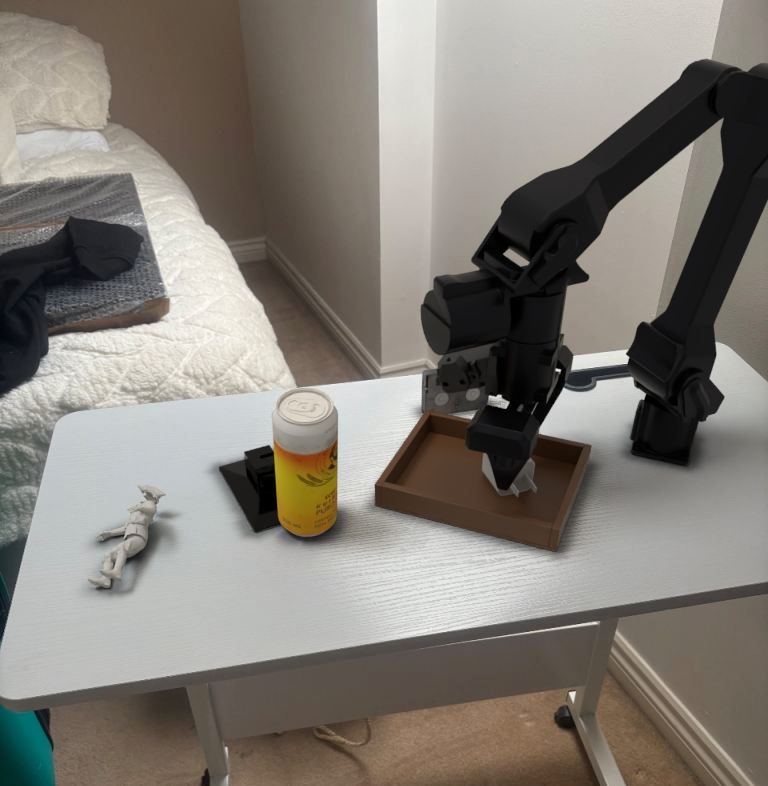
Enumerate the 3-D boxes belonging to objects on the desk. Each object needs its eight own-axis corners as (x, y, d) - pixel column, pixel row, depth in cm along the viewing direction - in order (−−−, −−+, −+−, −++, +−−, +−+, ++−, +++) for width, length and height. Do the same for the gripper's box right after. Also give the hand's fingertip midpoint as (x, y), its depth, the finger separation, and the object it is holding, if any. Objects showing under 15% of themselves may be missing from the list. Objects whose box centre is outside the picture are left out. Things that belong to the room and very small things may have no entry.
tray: (588, 465, 94) (592, 444, 92) (555, 552, 83) (559, 530, 81) (425, 429, 100) (426, 409, 98) (374, 505, 88) (374, 484, 87)
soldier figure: (72, 591, 80) (102, 488, 87) (118, 608, 83) (144, 507, 89) (109, 566, 75) (138, 458, 82) (157, 584, 78) (181, 479, 84)
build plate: (318, 514, 88) (315, 480, 85) (252, 535, 85) (247, 500, 82) (276, 452, 96) (273, 419, 93) (215, 469, 94) (210, 435, 91)
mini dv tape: (483, 401, 104) (486, 359, 101) (487, 407, 103) (491, 365, 99) (421, 411, 103) (422, 368, 99) (424, 417, 102) (426, 374, 98)
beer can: (329, 545, 84) (328, 431, 73) (271, 534, 84) (262, 420, 74) (343, 504, 88) (345, 390, 77) (287, 494, 89) (282, 380, 78)
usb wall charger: (514, 467, 93) (517, 437, 90) (542, 503, 88) (547, 473, 85) (481, 474, 92) (483, 444, 89) (508, 511, 87) (511, 481, 84)
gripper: (477, 278, 87) (469, 405, 97) (414, 360, 74) (412, 497, 84) (583, 295, 84) (563, 425, 94) (537, 384, 70) (519, 524, 80)
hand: (514, 464), depth 88 cm, fingers open, 9 cm apart
